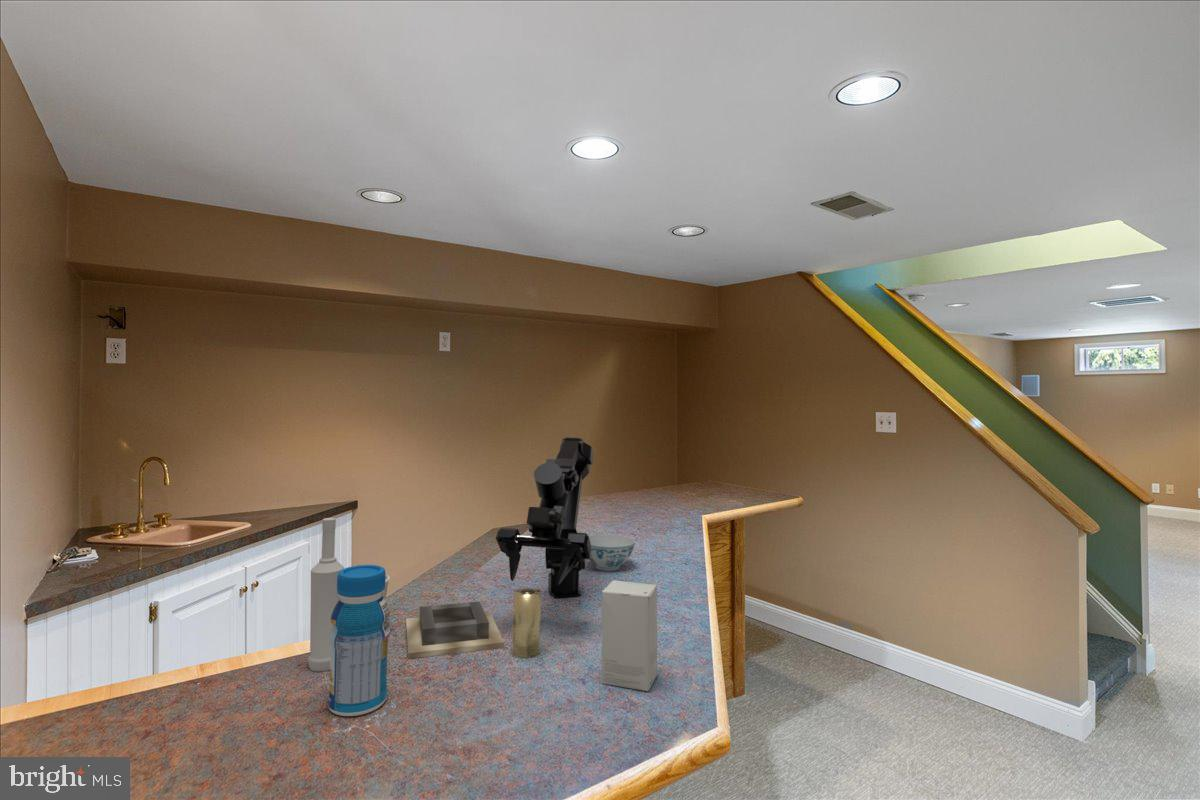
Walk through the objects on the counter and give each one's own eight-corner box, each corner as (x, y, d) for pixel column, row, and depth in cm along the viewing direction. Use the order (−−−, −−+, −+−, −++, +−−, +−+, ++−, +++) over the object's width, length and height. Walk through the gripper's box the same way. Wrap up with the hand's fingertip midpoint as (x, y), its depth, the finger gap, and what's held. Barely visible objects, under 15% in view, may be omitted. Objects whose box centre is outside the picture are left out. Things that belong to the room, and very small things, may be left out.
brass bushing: (536, 644, 109) (537, 585, 109) (542, 656, 104) (544, 594, 105) (509, 648, 107) (511, 588, 108) (515, 659, 103) (516, 596, 103)
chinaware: (635, 576, 155) (636, 547, 155) (579, 574, 155) (580, 545, 155) (633, 561, 170) (633, 534, 170) (582, 559, 170) (582, 533, 170)
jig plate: (489, 615, 124) (489, 596, 124) (503, 647, 108) (504, 626, 108) (405, 623, 118) (406, 603, 118) (408, 658, 102) (408, 636, 102)
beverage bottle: (350, 725, 81) (354, 582, 81) (314, 707, 85) (318, 571, 85) (399, 699, 88) (403, 568, 88) (364, 684, 92) (368, 559, 92)
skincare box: (658, 676, 98) (660, 584, 98) (648, 694, 92) (650, 596, 92) (611, 667, 101) (613, 578, 101) (598, 684, 94) (601, 589, 94)
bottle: (315, 658, 101) (319, 515, 101) (345, 658, 101) (350, 516, 102) (302, 672, 96) (307, 522, 96) (334, 672, 96) (339, 522, 96)
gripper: (500, 488, 118) (478, 555, 107) (590, 492, 114) (576, 563, 103) (511, 519, 125) (492, 585, 114) (596, 525, 122) (584, 593, 111)
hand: (534, 581), depth 110 cm, fingers open, 9 cm apart
